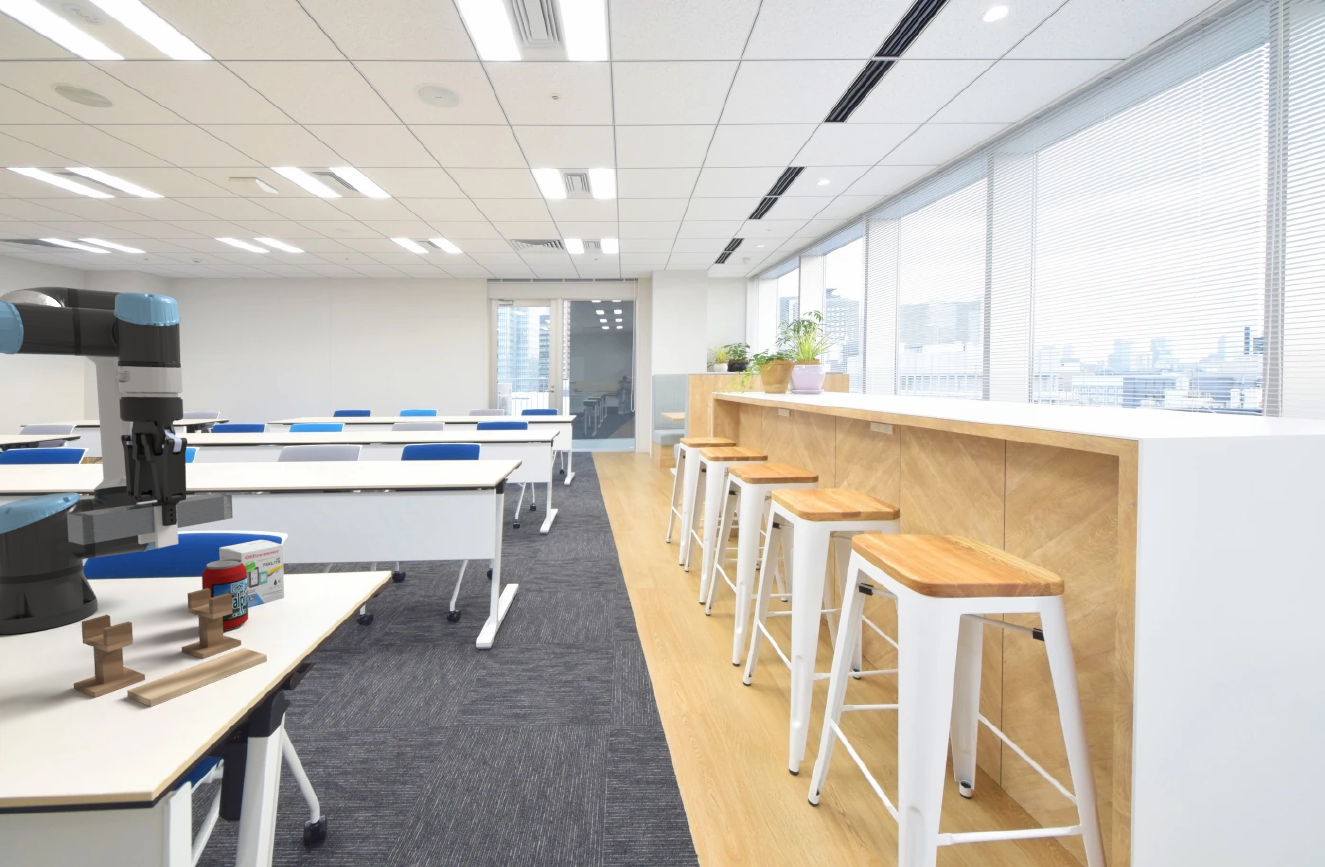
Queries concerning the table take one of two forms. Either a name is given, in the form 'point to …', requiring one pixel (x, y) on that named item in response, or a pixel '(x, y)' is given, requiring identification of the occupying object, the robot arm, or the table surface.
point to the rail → (144, 518)
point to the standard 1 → (107, 656)
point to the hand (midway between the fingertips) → (158, 543)
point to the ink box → (259, 569)
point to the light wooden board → (195, 677)
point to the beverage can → (229, 588)
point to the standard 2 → (210, 623)
